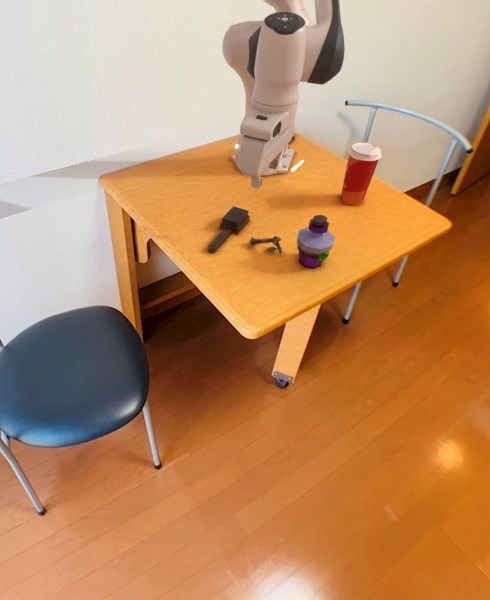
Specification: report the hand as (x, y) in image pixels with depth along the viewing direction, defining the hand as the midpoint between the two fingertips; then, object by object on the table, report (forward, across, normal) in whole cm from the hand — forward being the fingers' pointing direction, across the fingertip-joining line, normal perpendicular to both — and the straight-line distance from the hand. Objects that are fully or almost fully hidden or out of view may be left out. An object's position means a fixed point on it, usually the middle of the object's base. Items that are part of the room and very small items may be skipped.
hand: (264, 176), depth 94 cm
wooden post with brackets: (+18, +1, +3) cm, 18 cm away
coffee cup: (+18, -31, +15) cm, 39 cm away
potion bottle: (+18, +1, +14) cm, 23 cm away
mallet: (+18, +1, -8) cm, 20 cm away
